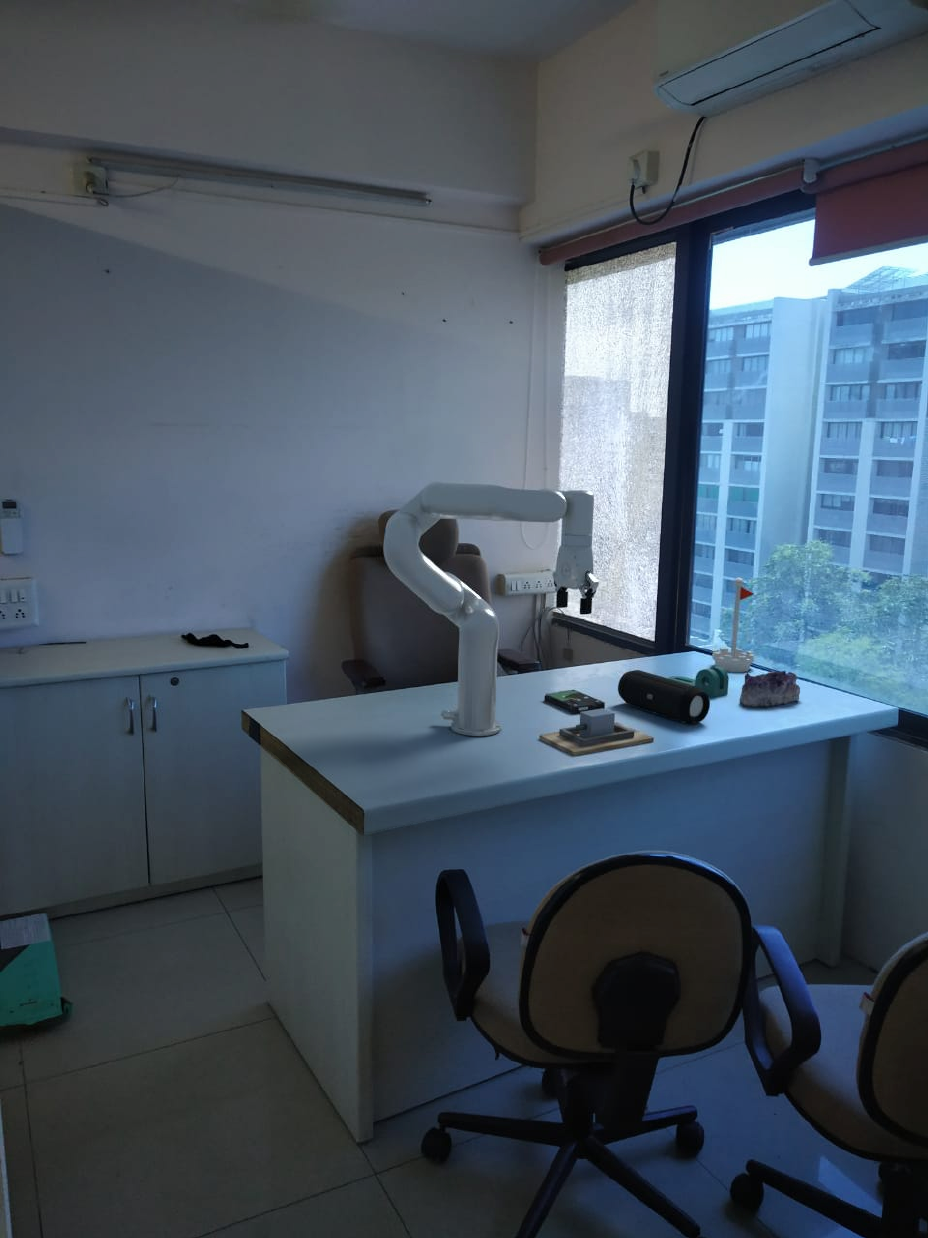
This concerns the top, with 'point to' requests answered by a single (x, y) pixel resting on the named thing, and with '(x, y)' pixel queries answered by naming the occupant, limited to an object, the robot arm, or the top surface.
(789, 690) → the geode
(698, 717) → the portable speaker
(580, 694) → the disk drive
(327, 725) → the top surface
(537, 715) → the top surface
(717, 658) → the flag stand
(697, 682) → the bracket
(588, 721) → the connector plug
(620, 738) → the end holder
